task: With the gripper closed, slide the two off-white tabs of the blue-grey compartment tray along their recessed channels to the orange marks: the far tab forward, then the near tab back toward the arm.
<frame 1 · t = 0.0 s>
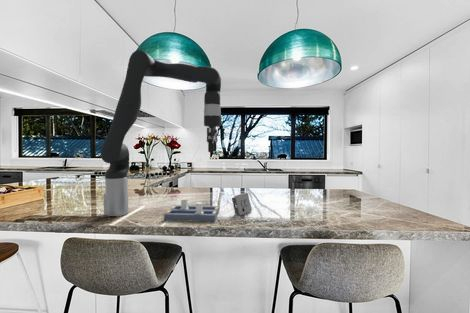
hand: (212, 151, 103), 29 cm above the counter, fingers open, 8 cm apart
electrical switch: (241, 213, 109), on the counter
blue-grey compartment tray: (193, 215, 105), on the counter
tab 2: (199, 209, 101), point 4 cm above the counter, slide at 0.0 cm
tab 1: (184, 204, 108), point 4 cm above the counter, slide at 0.0 cm
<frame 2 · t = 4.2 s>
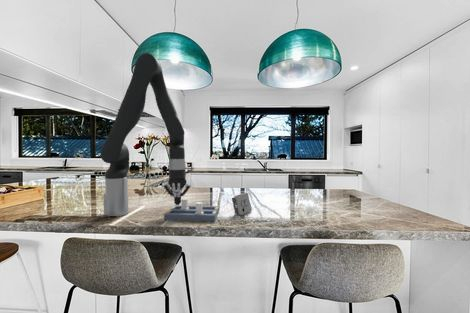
hand: (177, 204, 108), 4 cm above the counter, fingers closed
tab 1: (184, 204, 108), point 4 cm above the counter, slide at 0.1 cm, touching gripper
everything else where it was.
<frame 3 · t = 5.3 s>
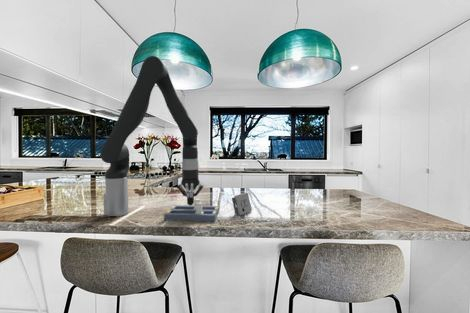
hand: (190, 204, 108), 4 cm above the counter, fingers closed
tab 1: (197, 205, 108), point 4 cm above the counter, slide at 6.3 cm, touching gripper
everything else where it was.
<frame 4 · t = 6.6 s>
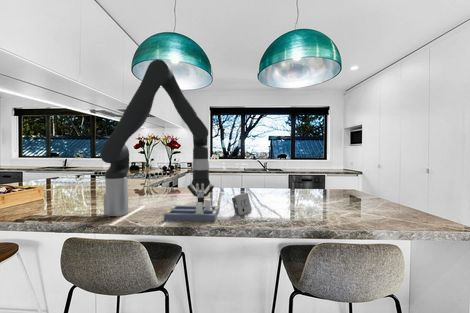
hand: (201, 205, 107), 4 cm above the counter, fingers closed
tab 1: (208, 205, 107), point 4 cm above the counter, slide at 11.3 cm, touching gripper
everything else where it was.
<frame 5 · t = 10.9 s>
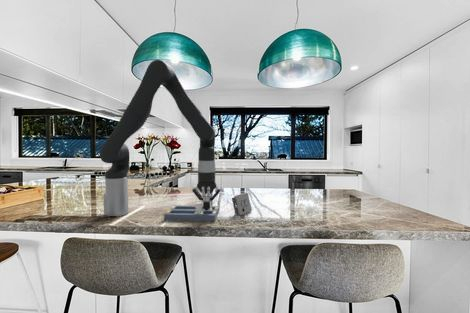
hand: (206, 209, 101), 4 cm above the counter, fingers closed
tab 2: (198, 209, 101), point 4 cm above the counter, slide at 0.1 cm, touching gripper
tab 1: (208, 205, 107), point 4 cm above the counter, slide at 11.3 cm
everything else where it was.
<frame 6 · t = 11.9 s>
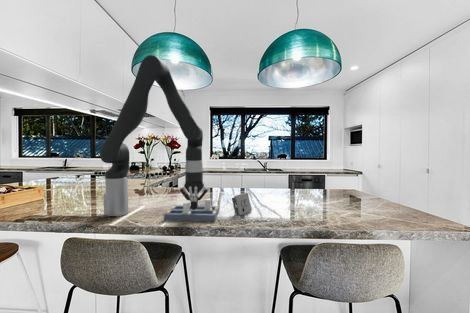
hand: (194, 209, 101), 4 cm above the counter, fingers closed
tab 2: (186, 208, 101), point 4 cm above the counter, slide at 5.7 cm, touching gripper
everything else where it was.
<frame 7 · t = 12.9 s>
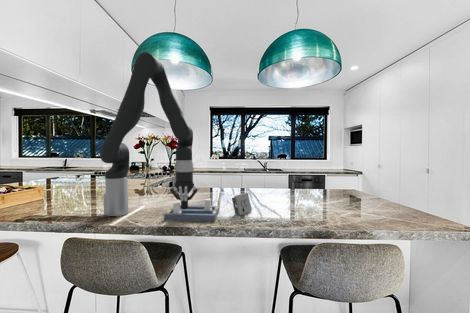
hand: (184, 208, 101), 4 cm above the counter, fingers closed
tab 2: (176, 208, 102), point 4 cm above the counter, slide at 10.1 cm, touching gripper
everything else where it was.
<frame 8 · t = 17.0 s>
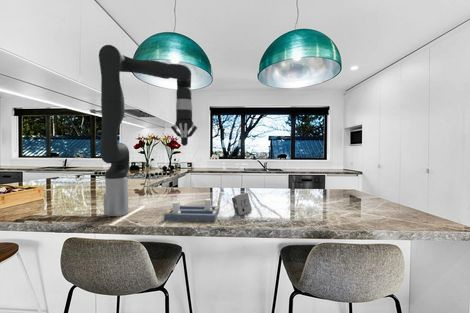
hand: (184, 145, 111), 32 cm above the counter, fingers closed
tab 2: (176, 208, 102), point 4 cm above the counter, slide at 10.3 cm
everything else where it was.
at the end: tab 1 slide at 11.3 cm; tab 2 slide at 10.3 cm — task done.
